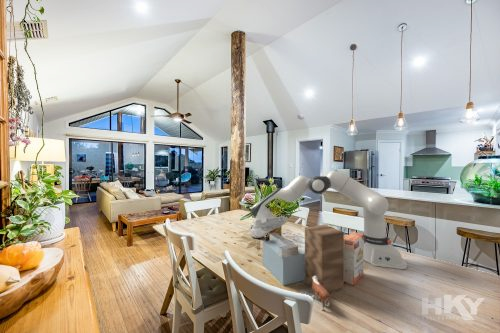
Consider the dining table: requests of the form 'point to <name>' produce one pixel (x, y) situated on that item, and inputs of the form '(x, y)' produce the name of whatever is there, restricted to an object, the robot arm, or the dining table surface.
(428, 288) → the dining table surface
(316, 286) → the bull figurine
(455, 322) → the dining table surface
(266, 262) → the gray rectangular box
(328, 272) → the stand
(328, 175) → the robot arm
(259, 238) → the spread jar
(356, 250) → the cracker box
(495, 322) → the dining table surface
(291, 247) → the light gray box
